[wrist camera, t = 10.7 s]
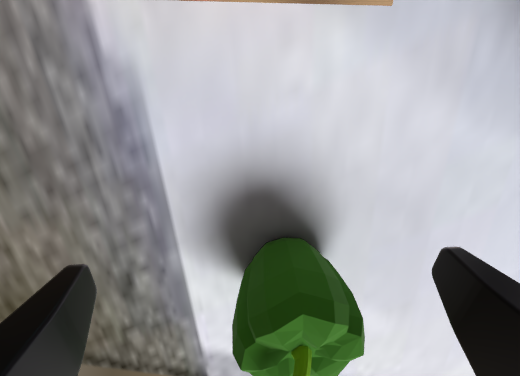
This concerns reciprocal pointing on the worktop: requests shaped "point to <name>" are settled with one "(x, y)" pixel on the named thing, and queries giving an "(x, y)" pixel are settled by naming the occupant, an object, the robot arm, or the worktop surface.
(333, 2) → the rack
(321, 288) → the bell pepper
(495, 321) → the robot arm
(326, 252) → the worktop surface
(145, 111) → the worktop surface
